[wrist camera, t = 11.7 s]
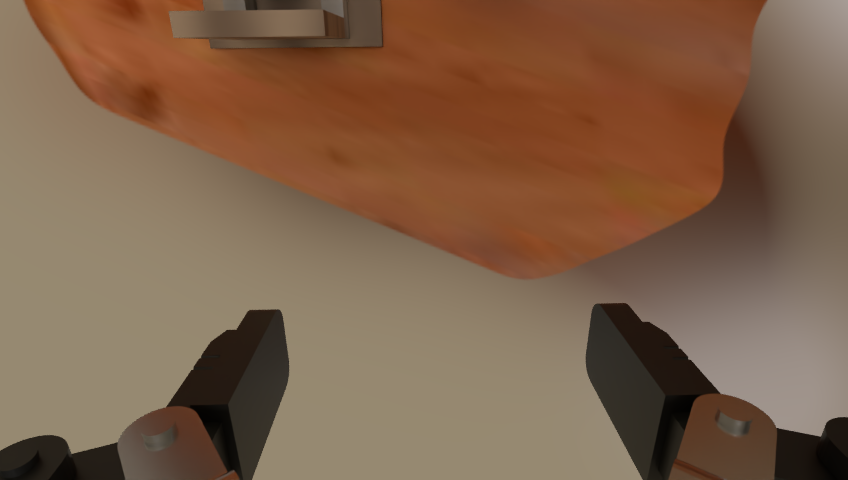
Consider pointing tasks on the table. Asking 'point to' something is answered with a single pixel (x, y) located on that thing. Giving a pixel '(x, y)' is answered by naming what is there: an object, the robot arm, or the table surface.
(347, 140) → the table surface
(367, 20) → the grey box holder
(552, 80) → the table surface
